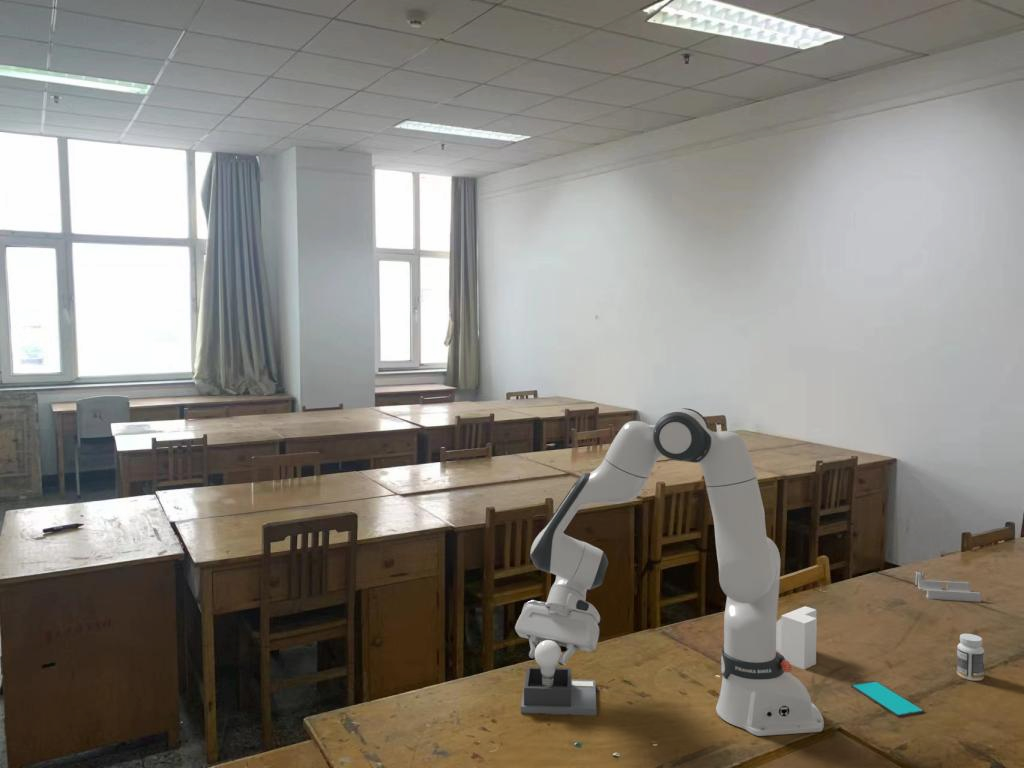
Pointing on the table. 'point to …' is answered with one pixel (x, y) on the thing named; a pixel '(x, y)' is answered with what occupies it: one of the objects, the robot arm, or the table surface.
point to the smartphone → (887, 699)
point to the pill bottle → (970, 657)
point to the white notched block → (797, 637)
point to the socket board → (558, 694)
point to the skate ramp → (955, 589)
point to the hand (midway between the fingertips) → (546, 661)
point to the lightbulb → (547, 660)
